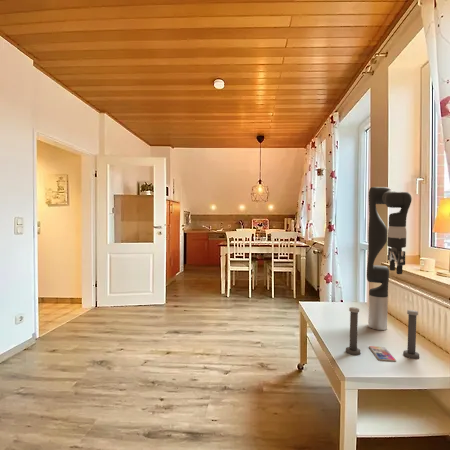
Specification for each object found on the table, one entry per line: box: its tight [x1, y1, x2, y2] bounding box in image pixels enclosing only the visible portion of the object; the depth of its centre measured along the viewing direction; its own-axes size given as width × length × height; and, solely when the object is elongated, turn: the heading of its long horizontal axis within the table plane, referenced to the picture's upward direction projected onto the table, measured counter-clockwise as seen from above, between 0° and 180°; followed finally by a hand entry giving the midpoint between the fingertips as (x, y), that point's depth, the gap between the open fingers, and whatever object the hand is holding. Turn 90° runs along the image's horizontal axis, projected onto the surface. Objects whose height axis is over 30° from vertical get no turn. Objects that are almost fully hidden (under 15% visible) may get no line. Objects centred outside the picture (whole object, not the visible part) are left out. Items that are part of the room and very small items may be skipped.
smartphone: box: [368, 345, 397, 363], centre depth 146 cm, size 7×1×15 cm
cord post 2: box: [402, 309, 420, 360], centre depth 145 cm, size 6×6×19 cm
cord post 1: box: [345, 306, 361, 356], centre depth 147 cm, size 6×6×19 cm
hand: (395, 272), depth 153 cm, fingers open, 8 cm apart
